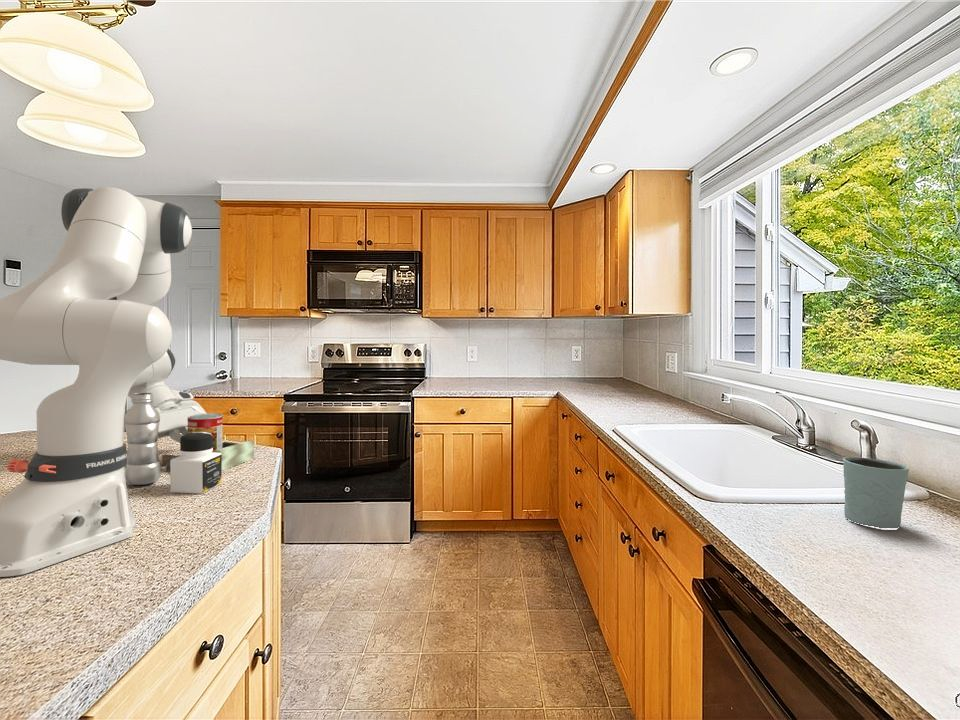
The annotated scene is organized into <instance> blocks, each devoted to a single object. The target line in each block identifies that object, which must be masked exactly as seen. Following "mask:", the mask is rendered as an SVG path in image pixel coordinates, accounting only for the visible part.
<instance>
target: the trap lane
mask: <svg viewBox="0 0 960 720" xmlns="http://www.w3.org/2000/svg"><path fill="white" fill-rule="evenodd" d="M254 451H255V440H250V439H249V440H246V441H242V442H229V441H222V449H218V450H215V453H221V454H222V470H223V471H225V470H227V468H228V469H231V468H233V466H234V467H236V466H239V465H242V464H244V463H243V462H245V463H247V462H249V460H250V461H252V460H251V459H253V460H254V459H255V455H254V454H255V452H254ZM181 455H182V454H178V455H173V454H163V455H161V465H162V466H165V465H167V466H166V471H167V472H170V460H171V459H174V458H176V457H179V456H181ZM246 461H247V462H246ZM241 463H242V464H241ZM238 464H239V465H238ZM235 465H236V466H235ZM230 467H231V468H230Z"/></svg>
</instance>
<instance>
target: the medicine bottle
mask: <svg viewBox="0 0 960 720" xmlns="http://www.w3.org/2000/svg"><path fill="white" fill-rule="evenodd" d="M179 444H180V446H179V448H180V449H179V450H180V451H179V452H180V453H179V455H181V456H179V457H176V458H174V459H171V460H170V471H169V476H170V477H169V478H170V479H169V481H170V485H169V487H170V493H173V494H201V495H202V494H203V495H204V494H206V493H207V492H209V491H211V490H213V489H215V488H216V487H218V486H220V485H221V484H222V483H223V482H222V478H223V477H222V473H223V471H222V454H221V453H215V452H212V451H213V435H212V434H210V433H207V432H194V433H188V434H185V435H183V436H182V437H181V438H180V443H179Z"/></svg>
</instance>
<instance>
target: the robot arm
mask: <svg viewBox="0 0 960 720" xmlns="http://www.w3.org/2000/svg"><path fill="white" fill-rule="evenodd" d="M60 206H61V208H60V214H61V215H60V216H61V220H62V224H63V227H64V229H65V230H66V231H67V233H66V236H65V239H64V241H63V244H62V246H61V248H60V251H59V252H58V254H57V257H56V259H54V262H53V263H52V265H50V266H49V267H48V269H47V270H46V271H45V272H43V273H42V274H41V275H40V276H39V277H37V278H36V279H34V280H33V281H32V282H30V283H29V284H28V285H26V286H24V287H23V288H21V289H20V290H17V291H15V292H14V293H10V294H8V295H6V296H4V297H0V360H1V361H6V362H7V361H8V362H13V363H16V364H17V363H18V364H24V365H31V366H32V365H35V366H36V365H37V366H38V365H39V366H46V365H47V366H48V365H49V366H51V365H52V366H53V365H54V366H78V367H79V369H78V370H79V371H78V373H77V374H78V375H77V377H76V379H75V380H74V381H73V383H72V384H70V385H67V386H65V387H63V388H61V389H58V390H56V391H54V392H52V393H50V394H49V395H47V396H46V397H44V399H42V401H41V402H40V403H39V405H38V407H37V409H36V449H37V450H36V451H35V452H34V454H33V455H32V457H31V459H30V462H29V461H28V460H26V459H20V458H12V459H10V460H9V461H8V463H6V466H5V468H6V471H8V472H9V473H18V474H22V473H24V475H23V477H24V479H23V480H22V481H21V482H20V483H19V484H17V485H16V486H15V487H13V489H12V490H10V491H9V492H8V493H7V494H5V495H4V496H3V497H2V498H1V499H0V578H3V577H15V576H22V575H25V574H28V573H31V572H34V571H37V570H39V569H43V568H46V567H49V566H52V565H55V564H57V563H61V562H63V561H66V560H69V559H71V558H74V557H77V556H80V555H82V554H83V555H84V554H86V553H89V552H92V551H94V550H97V549H101V548H103V547H106V546H109V545H112V544H114V543H115V544H116V543H118V542H120V541H124V540H126V539H129V538H131V537H132V536H134V531H133V528H134V527H135V525H136V523H137V521H136V517H135V515H134V513H133V510H132V507H131V502H130V500H129V494H128V488H127V481H126V478H125V468H126V464H127V455H128V449H127V444H126V443H125V442H124V427H125V423H124V417H125V414H126V413H127V412H128V410H129V409H130V408H128V409H127V410H126V409H125V408H126V404H127V403H126V402H127V399H128V397H129V398H130V399H131V400H132V394H134V393H153V402H151V403H152V405H153V406H154V407H155V408H156V410H157V411H158V412H159V415H160V421H159V422H160V423H159V430H158V439H162V438H166V437H169V438H170V439H171V440H173V441H175V442H177V443H179V444H180V438H181V437H182V436H183V435H185V434H188V416H190V415H195V414H206V413H207V411H206V410H205V409H204V408H203V406H201V405H200V403H198V402H197V401H196V400H194V399H195V397H194V395H193V394H192V393H191V392H186V391H180V390H176V389H171V388H170V387H169V386H168V385H167V384H166V383H165V379H167V378H169V376H170V375H171V373H172V371H173V370H174V368H175V365H176V358H175V355H174V354H173V352H172V350H171V349H170V347H171V344H172V341H173V327H172V325H171V322H170V320H169V318H168V317H167V315H166V314H165V313H164V312H163V311H162V310H161V309H160V308H159V307H158V306H154V304H156V303H157V302H159V301H160V300H162V299H163V298H164V297H165V296H166V295H167V294H168V293H169V291H170V288H171V283H172V261H171V254H178V253H181V252H183V251H185V249H187V247H188V245H189V243H190V241H191V239H192V235H193V228H192V227H193V226H192V222H191V220H190V217H189V214H188V213H187V212H186V211H185V209H184V208H183V207H181V206H178V205H176V204H173V203H170V202H166V203H164V202H161V201H158V200H153V199H150V198H146V197H142V196H136V195H134V194H132V193H130V192H129V191H126V190H124V189H122V188H118V187H113V186H102V187H98V188H95V189H94V188H88V187H86V188H84V187H83V188H73V189H71V190H70V191H69V192H67V193H66V194H65V195H64V197H63V199H62V203H61V205H60ZM125 410H126V411H125Z"/></svg>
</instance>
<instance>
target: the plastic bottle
mask: <svg viewBox="0 0 960 720" xmlns="http://www.w3.org/2000/svg"><path fill="white" fill-rule="evenodd" d="M151 402H153V393H134V394H132V399H131V404H132V405H131V407H130V408H128V409H129V410H128V409H127V410H128V412H127V411H126V412H127V413H126V412H125V413H126V414H125V413H124V427H125V432H126V433H125V434H126V441H127V464H126V465H125V480H126V483H127V484H129V485H132V486H143V485H148V484H154V483H156V482H158V481H159V479H160V478H161V473H162V466H161V465H162V464H161V463H160V457H159V450H158V446H159V445H158V441H159V440H158V439H159V438H158V430H159V423H160V422H159V421H160V415H159V412H158V411H157V410H156V408H155V407H154V406H153V405H152V403H151Z"/></svg>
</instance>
